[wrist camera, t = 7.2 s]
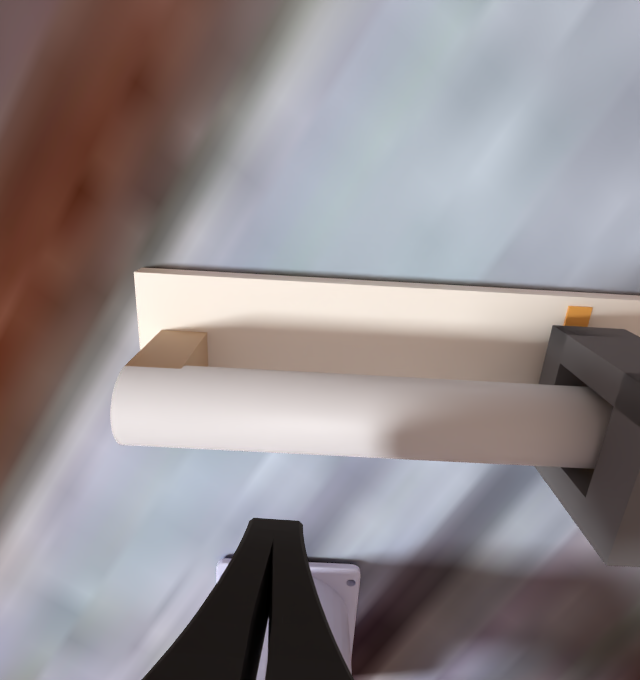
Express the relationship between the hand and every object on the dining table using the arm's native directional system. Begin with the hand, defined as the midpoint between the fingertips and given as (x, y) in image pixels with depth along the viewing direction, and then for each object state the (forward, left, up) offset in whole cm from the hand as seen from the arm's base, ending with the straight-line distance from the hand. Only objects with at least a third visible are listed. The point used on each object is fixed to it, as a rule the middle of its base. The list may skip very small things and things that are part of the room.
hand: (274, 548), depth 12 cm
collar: (+1, -12, -8) cm, 15 cm away
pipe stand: (+1, -8, -10) cm, 13 cm away
